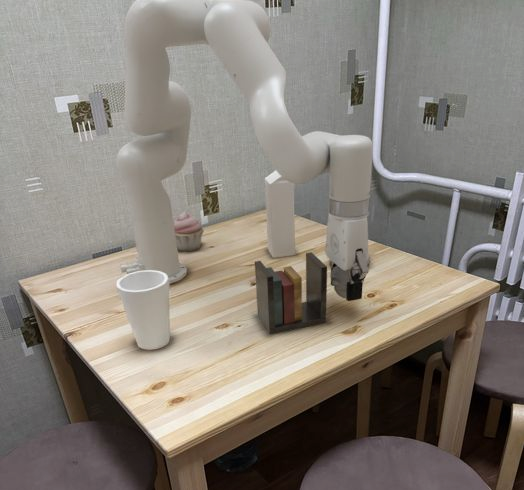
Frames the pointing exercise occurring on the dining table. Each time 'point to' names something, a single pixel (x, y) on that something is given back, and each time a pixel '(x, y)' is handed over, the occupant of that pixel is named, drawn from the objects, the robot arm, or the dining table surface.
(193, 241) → the cupcake
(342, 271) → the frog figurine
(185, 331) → the dining table surface
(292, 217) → the milk
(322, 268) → the book rack
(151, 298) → the foam cup
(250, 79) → the robot arm
